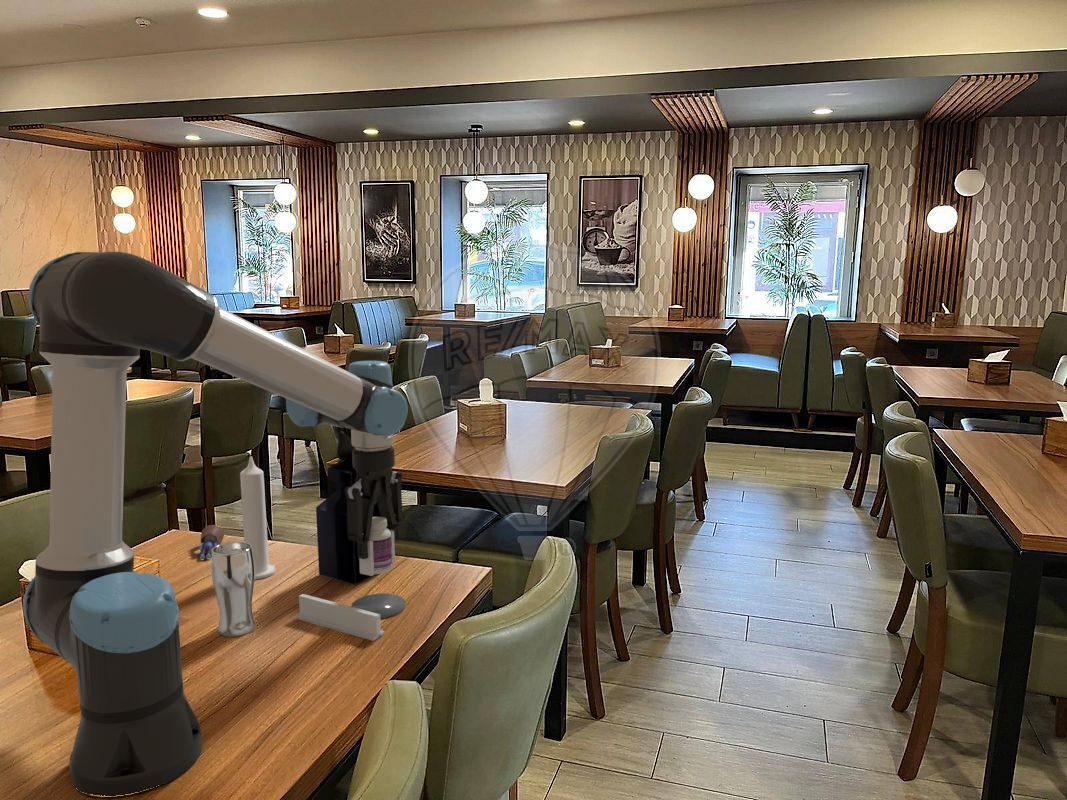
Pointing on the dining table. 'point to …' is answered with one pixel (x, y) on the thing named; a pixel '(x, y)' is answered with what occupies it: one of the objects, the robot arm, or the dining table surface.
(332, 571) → the vase
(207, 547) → the figurine
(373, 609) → the coaster
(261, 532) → the candle
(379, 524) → the pill bottle
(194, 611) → the dining table surface
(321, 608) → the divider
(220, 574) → the beer glass
